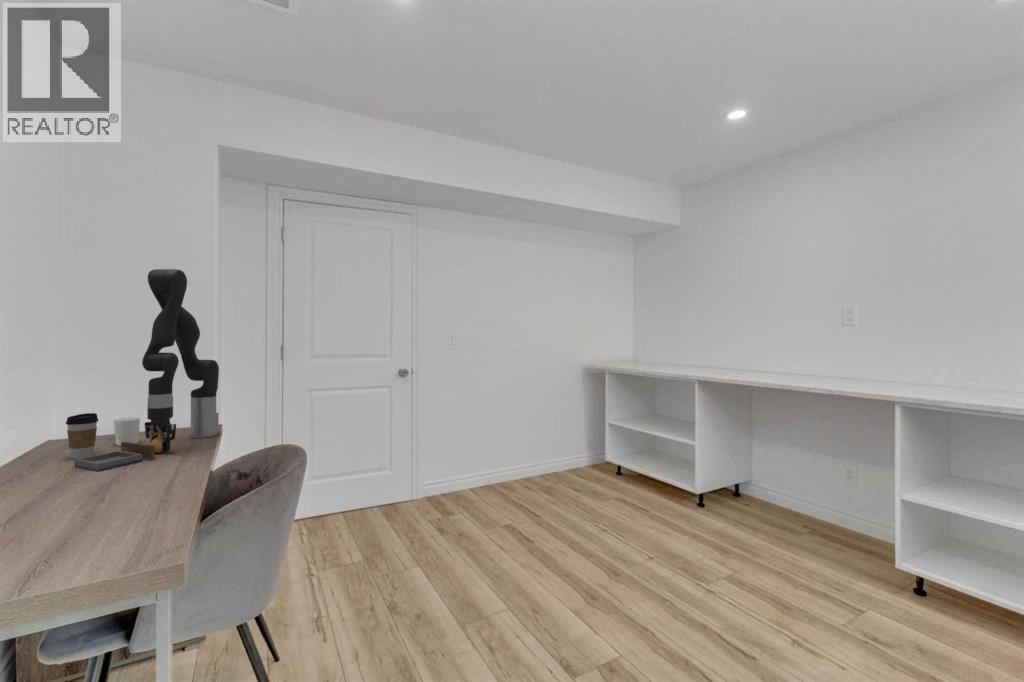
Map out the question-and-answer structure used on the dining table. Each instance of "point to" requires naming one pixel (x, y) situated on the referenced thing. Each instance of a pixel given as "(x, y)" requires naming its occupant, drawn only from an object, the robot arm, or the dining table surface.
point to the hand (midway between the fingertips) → (160, 450)
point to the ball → (157, 444)
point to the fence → (139, 449)
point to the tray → (108, 460)
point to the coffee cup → (82, 434)
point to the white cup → (127, 429)
